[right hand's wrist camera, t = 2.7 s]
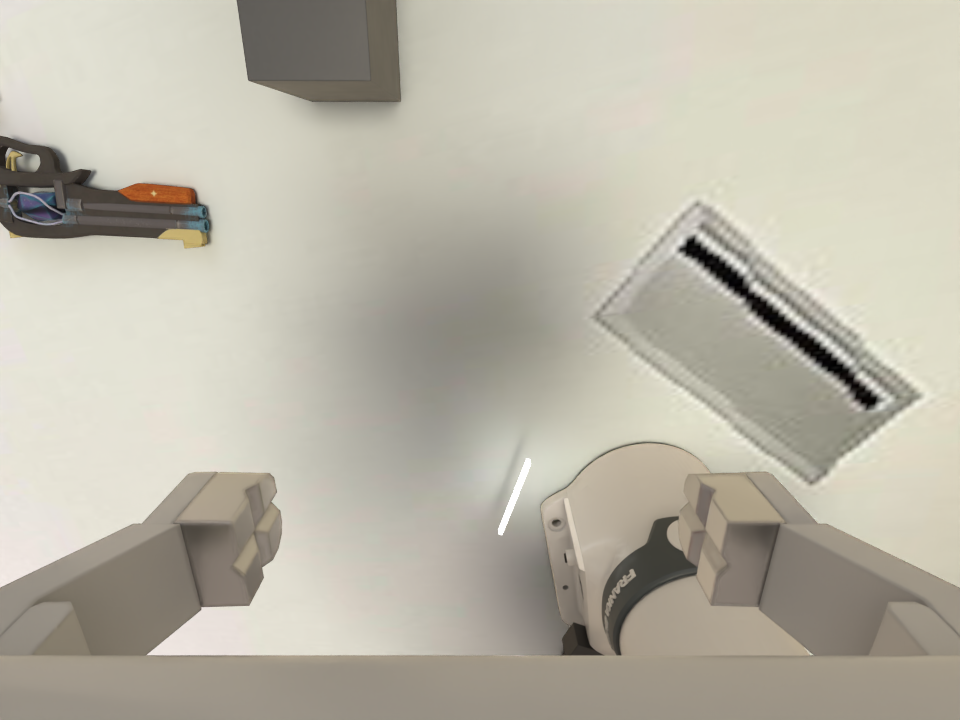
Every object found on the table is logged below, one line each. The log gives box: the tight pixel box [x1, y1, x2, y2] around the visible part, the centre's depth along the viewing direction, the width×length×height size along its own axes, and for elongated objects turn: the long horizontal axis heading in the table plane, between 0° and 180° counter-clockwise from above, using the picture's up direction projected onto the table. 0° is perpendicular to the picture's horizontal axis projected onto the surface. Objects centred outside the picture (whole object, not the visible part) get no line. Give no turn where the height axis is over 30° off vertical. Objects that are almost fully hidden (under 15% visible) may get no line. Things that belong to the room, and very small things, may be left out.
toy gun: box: [0, 136, 209, 248], centre depth 37 cm, size 3×19×10 cm
